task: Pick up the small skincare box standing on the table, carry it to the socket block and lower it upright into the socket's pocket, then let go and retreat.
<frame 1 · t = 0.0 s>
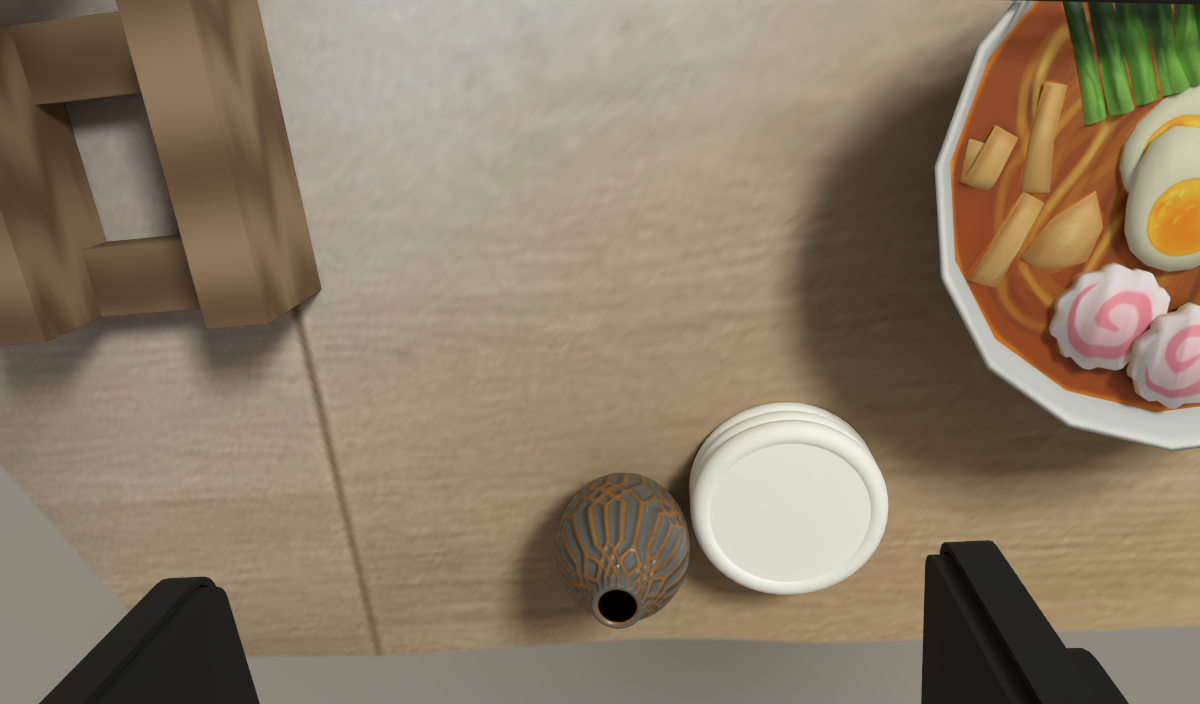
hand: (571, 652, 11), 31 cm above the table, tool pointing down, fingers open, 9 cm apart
socket: (159, 166, 41), on the table
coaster: (780, 481, 45), on the table
ramen bowl: (1139, 154, 37), on the table
vase: (626, 507, 46), on the table
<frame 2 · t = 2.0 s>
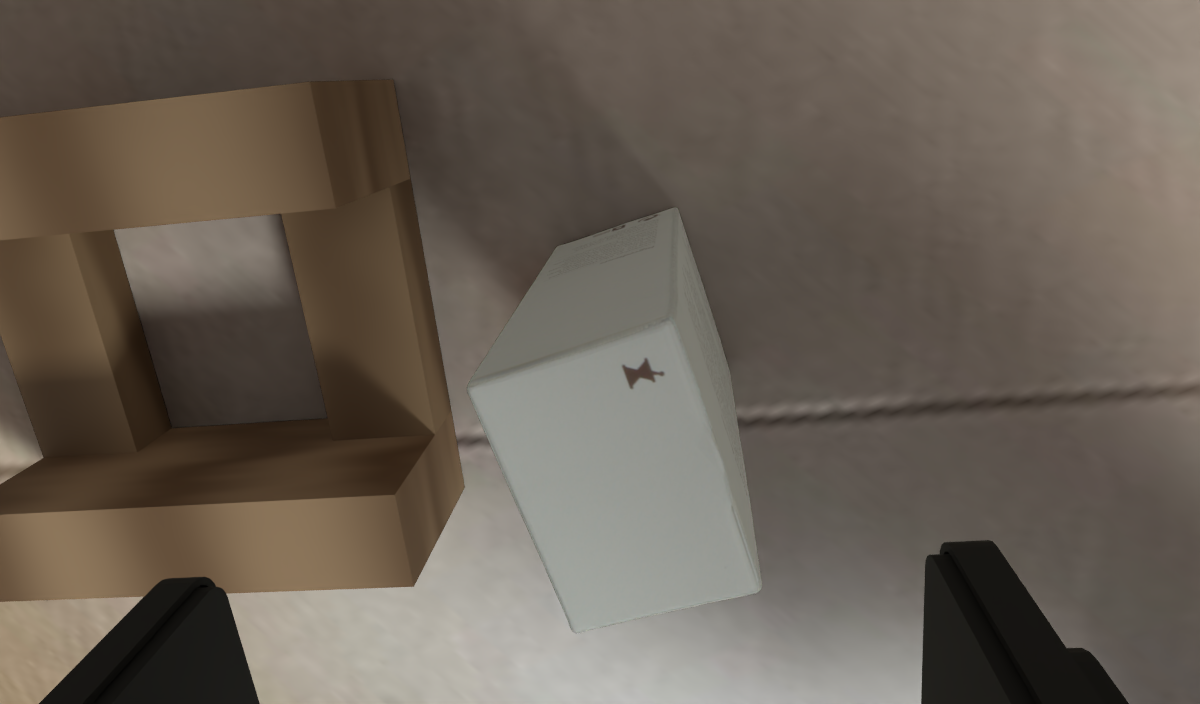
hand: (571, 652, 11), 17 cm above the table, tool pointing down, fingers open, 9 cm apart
socket: (234, 315, 28), on the table
skincare box: (644, 310, 27), on the table
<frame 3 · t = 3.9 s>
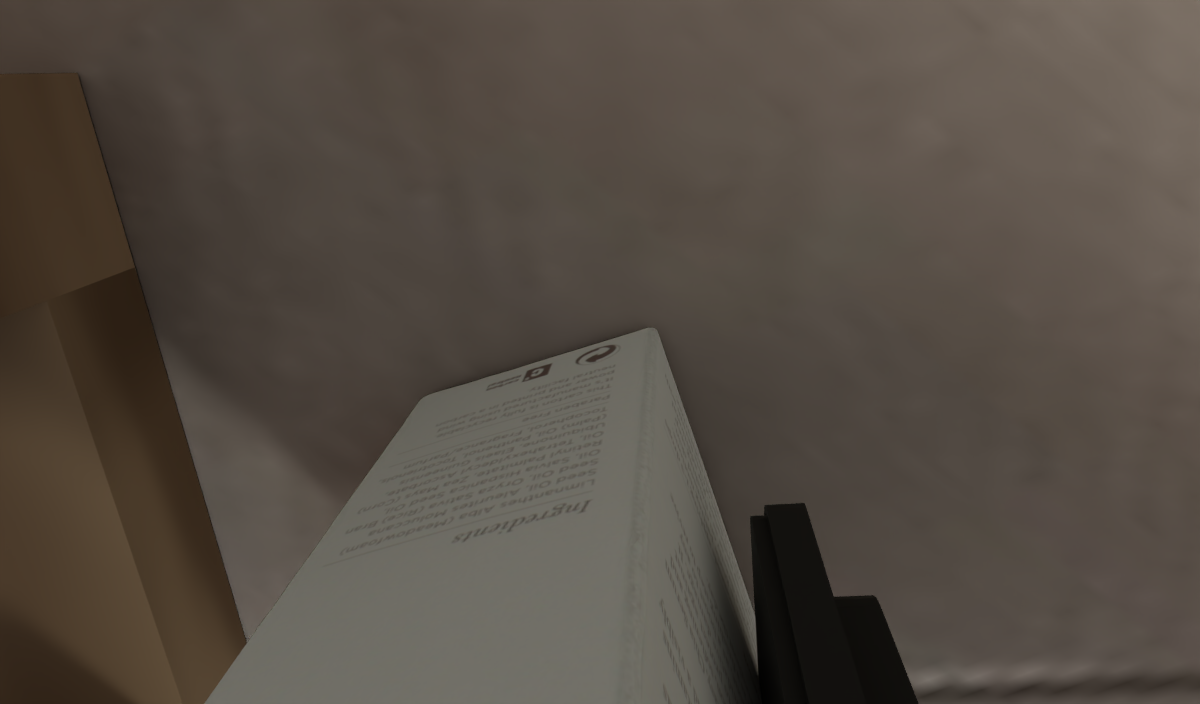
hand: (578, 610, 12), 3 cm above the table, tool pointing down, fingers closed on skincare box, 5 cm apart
skincare box: (595, 507, 14), on the table, touching gripper
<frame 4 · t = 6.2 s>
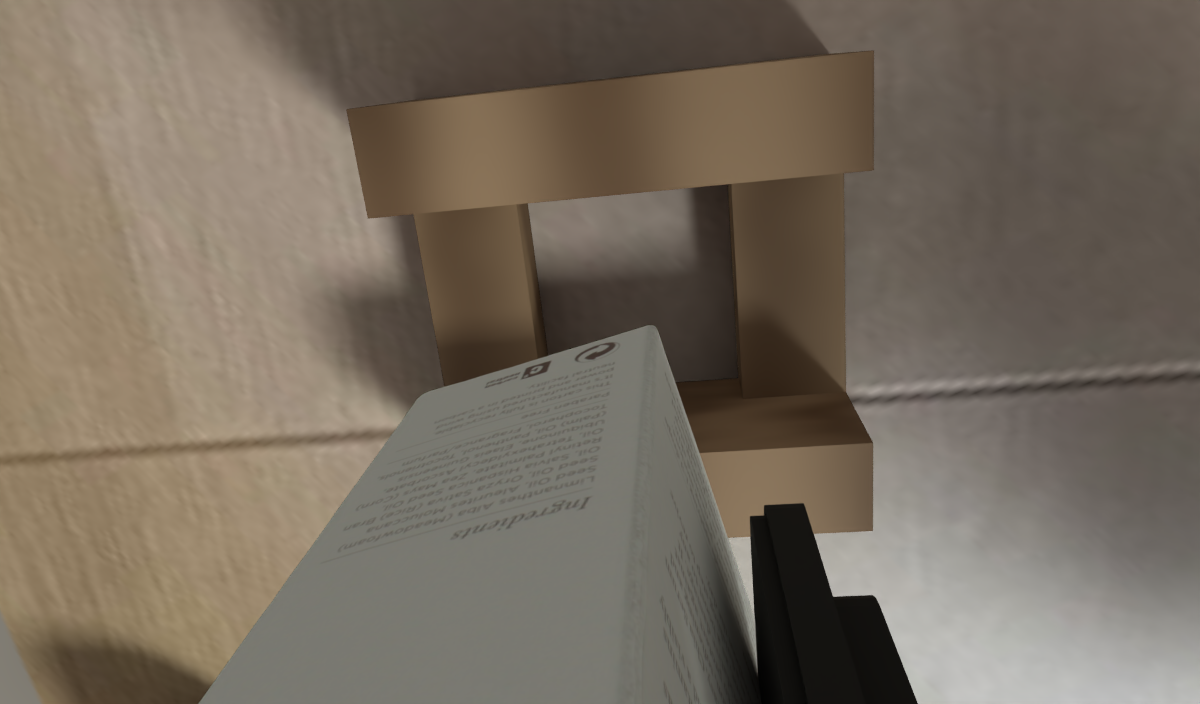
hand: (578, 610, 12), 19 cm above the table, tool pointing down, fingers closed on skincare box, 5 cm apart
socket: (634, 281, 29), on the table
skincare box: (594, 505, 14), point 16 cm above the table, touching gripper
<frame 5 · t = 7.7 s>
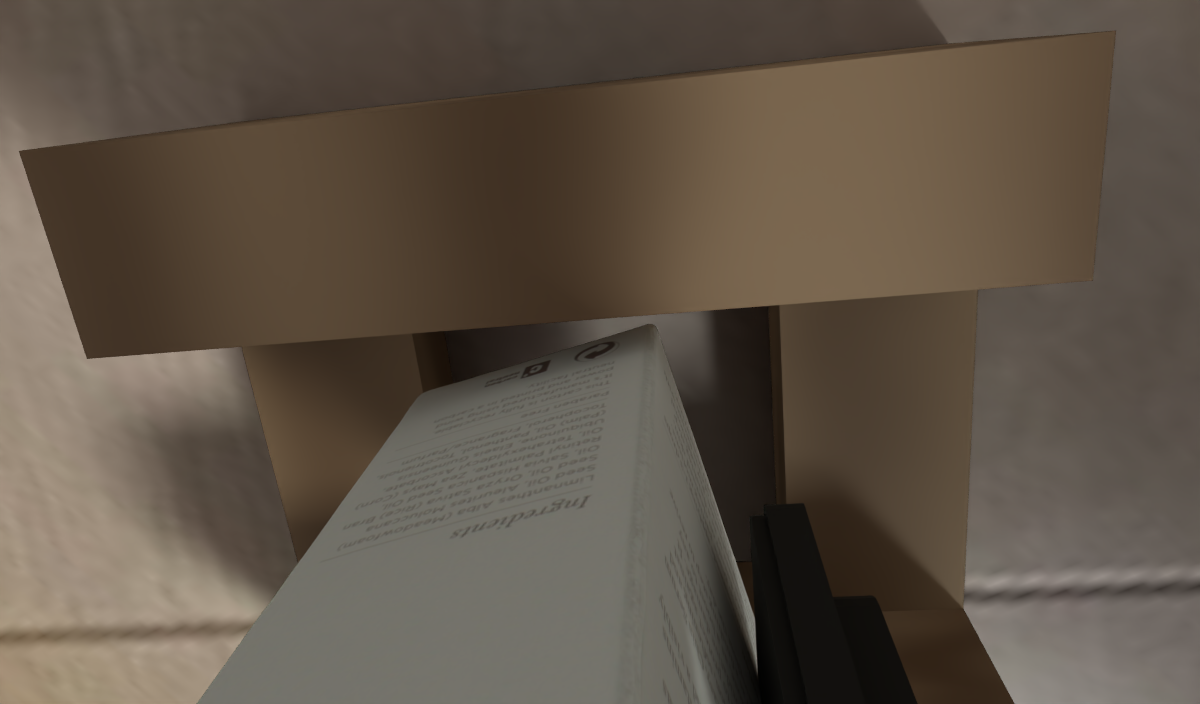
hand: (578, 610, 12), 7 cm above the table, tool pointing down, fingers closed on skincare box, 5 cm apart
socket: (612, 413, 18), on the table
skincare box: (594, 505, 14), point 4 cm above the table, touching gripper
when the fingers open (4 cm above the table, at t = 8.7 s): skincare box drops 1 cm, resting in socket.
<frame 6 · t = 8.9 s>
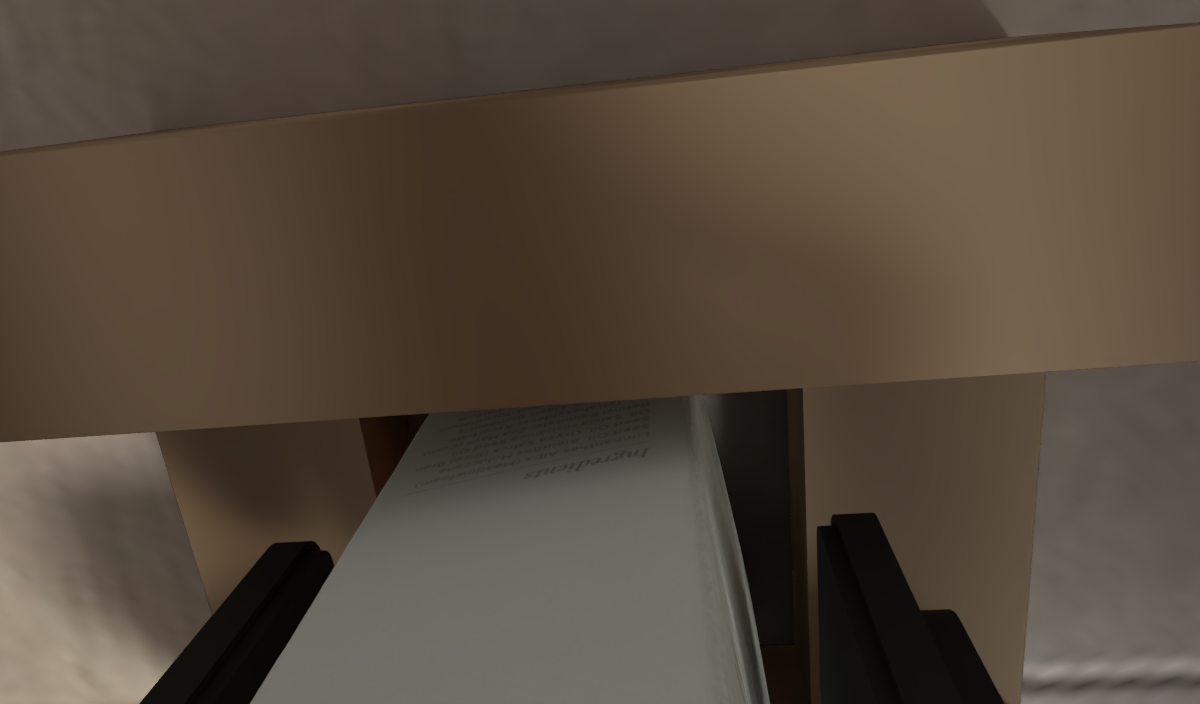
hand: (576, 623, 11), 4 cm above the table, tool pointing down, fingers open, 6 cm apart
socket: (599, 476, 15), on the table
skincare box: (609, 475, 16), resting in socket
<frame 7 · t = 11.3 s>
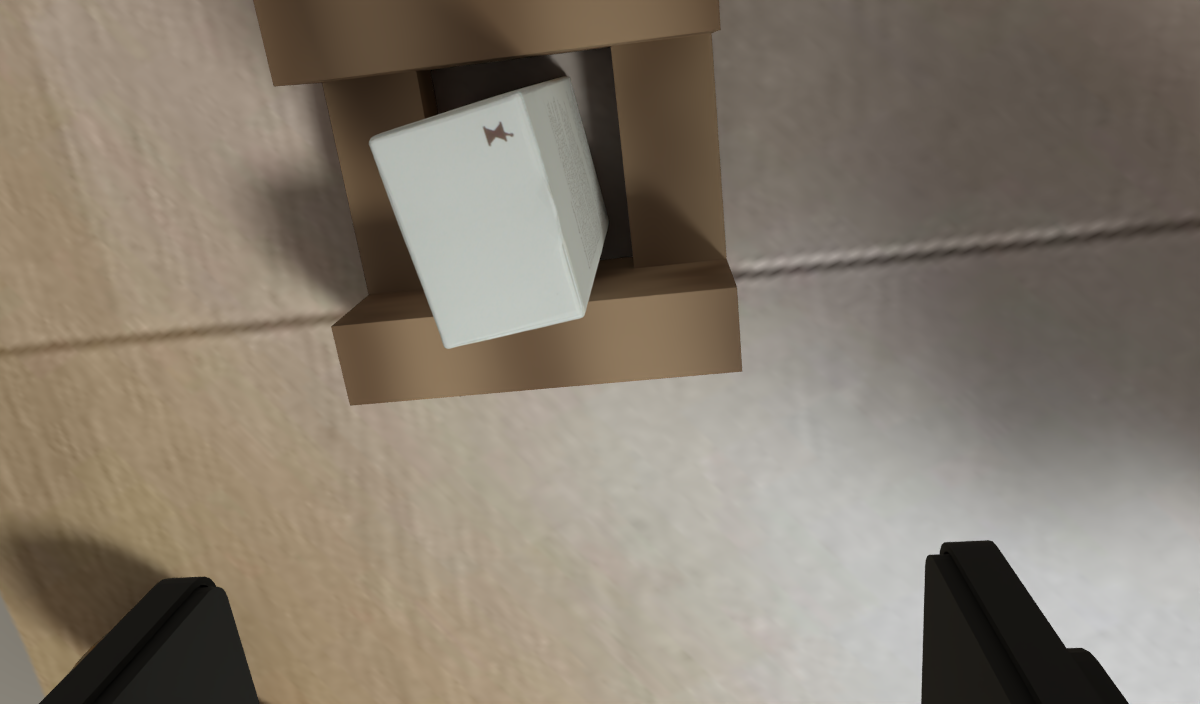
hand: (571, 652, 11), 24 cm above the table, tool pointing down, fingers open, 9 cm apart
socket: (535, 166, 32), on the table
skincare box: (541, 167, 32), resting in socket
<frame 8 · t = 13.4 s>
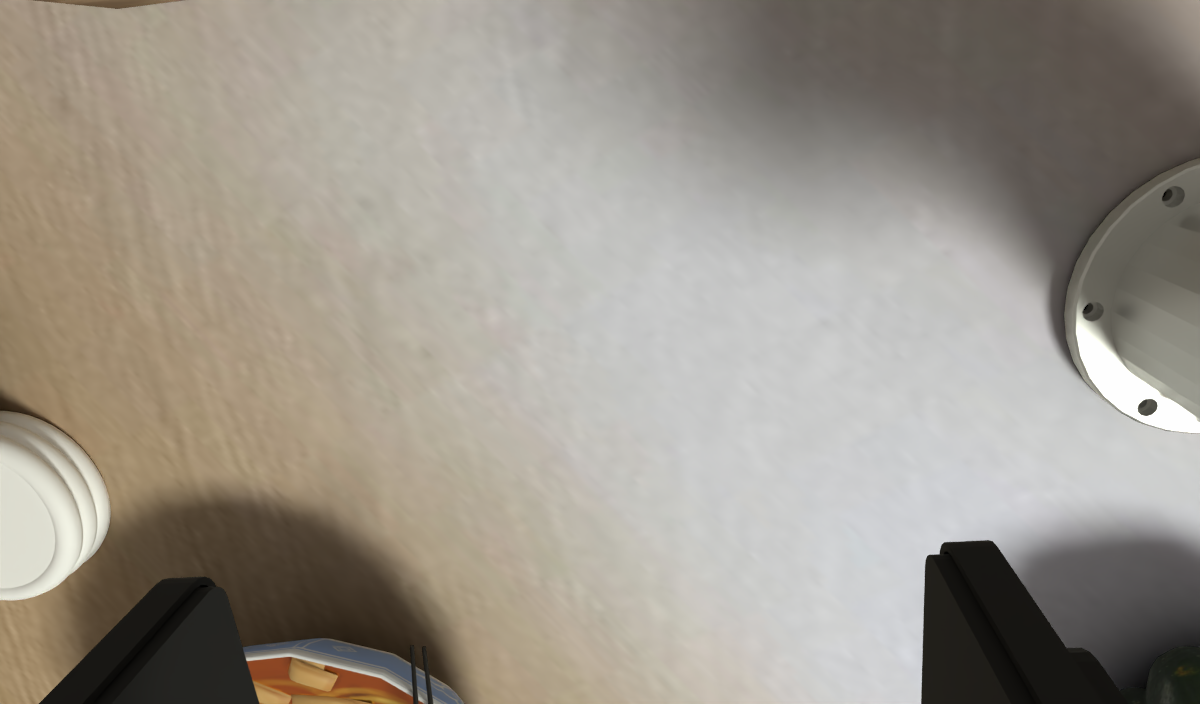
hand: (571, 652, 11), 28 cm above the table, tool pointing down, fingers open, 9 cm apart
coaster: (30, 488, 45), on the table
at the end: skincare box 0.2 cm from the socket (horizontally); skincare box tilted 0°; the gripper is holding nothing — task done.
